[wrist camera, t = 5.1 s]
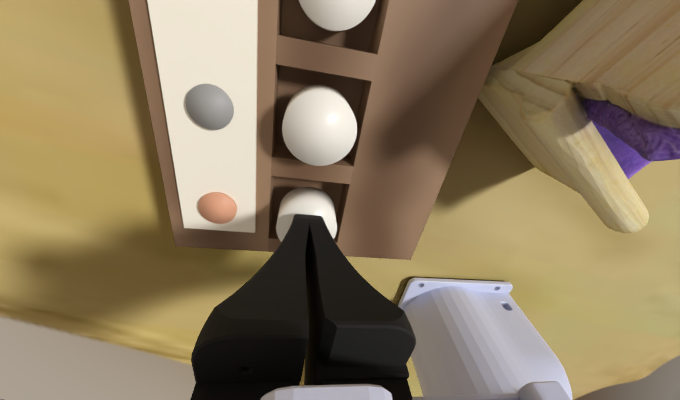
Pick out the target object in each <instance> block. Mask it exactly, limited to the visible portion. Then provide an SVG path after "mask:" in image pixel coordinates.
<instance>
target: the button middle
mask: <svg viewBox="0 0 680 400" xmlns="http://www.w3.org/2000/svg"><path fill="white" fill-rule="evenodd" d="M282 134H283V138H284V142H285V144H286V146H287V148H288V149H289V151H290V152H291V153H292V154H293V155H294V156H295V157H296V158H297V159H299V160H301V161H302V162H304V163H307V164H310V165H315V166H325V165H330V164H333V163H335V162H338V161H339V160H341V159H342V158H344V157H345V156H346V155H347V154H348V153H349V151H350V150H351V149H352V147H353V145H354V143H355V140H356V136H357V123H356V119H355V116H354V114H353V112H352V110H351V108H350V106H349V104H348V103H347V101H346V99H345V98H344V97H343V95H342V94H341V93H339V92H338V91H337V90H335V89H333V88H332V87H329V86H326V85H310V86H307V87H304V88H302V89H301V90H299V91H298V92H297V93H296V94H294V96H293V97H292V98H291V100H290V101H289V103H288V106H287V109H286V112H285V115H284V119H283V124H282Z"/></svg>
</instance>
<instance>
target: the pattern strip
mask: <svg viewBox="0 0 680 400" xmlns="http://www.w3.org/2000/svg"><path fill="white" fill-rule="evenodd" d="M147 1H148V8H149V14H150V20H151V26H152V32H153V39H154V45H155V51H156V57H157V63H158V69H159V76H160V82H161V88H162V94H163V100H164V107H165V113H166V119H167V125H168V131H169V138H170V144H171V150H172V156H173V162H174V168H175V175H176V181H177V187H178V193H179V199H180V206H181V212H182V218H183V224H184V228H192V229H206V230H221V231H235V232H250V233H255V231H256V141H257V42H258V0H147Z"/></svg>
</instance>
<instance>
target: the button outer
mask: <svg viewBox="0 0 680 400" xmlns="http://www.w3.org/2000/svg"><path fill="white" fill-rule="evenodd" d="M375 1H376V0H299V3H300V5H301V7H302V9H303V11H304V13H305V14H306V16H307V17H308V18H309V19H310V20H311V21H312V22H313V23H314V24H315V25H317V26H318V27H320V28H322V29H325V30H328V31H343V30H347V29H350V28H353V27H354V26H356V25H358V24H359V23H361V22H362V21H363V20H364V19H365V18H366V17H367V15H368V14H369V13H370V11H371V10H372V8H373V6H374V4H375Z"/></svg>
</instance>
